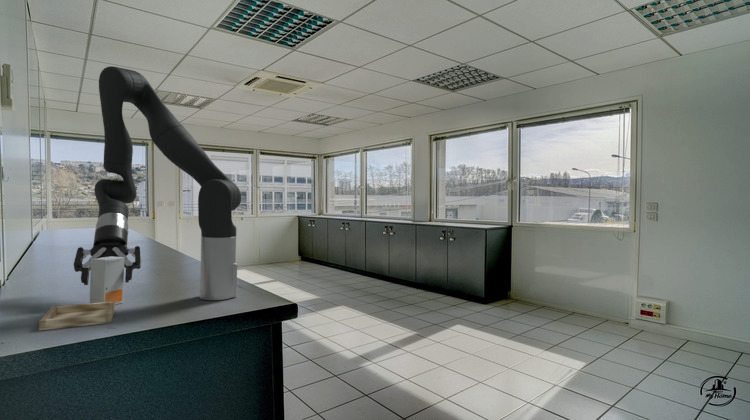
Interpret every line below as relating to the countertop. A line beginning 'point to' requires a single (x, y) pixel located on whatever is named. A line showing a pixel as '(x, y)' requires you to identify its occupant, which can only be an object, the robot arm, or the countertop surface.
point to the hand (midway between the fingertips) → (106, 282)
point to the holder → (77, 315)
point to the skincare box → (107, 280)
